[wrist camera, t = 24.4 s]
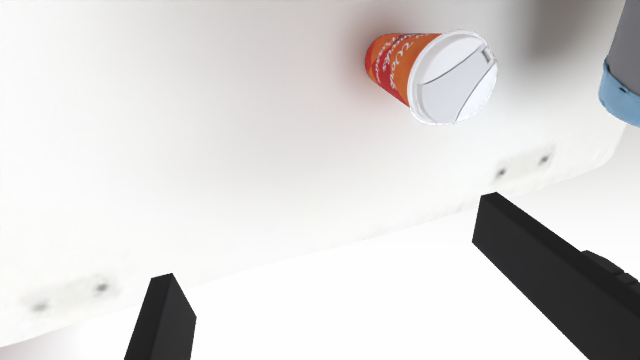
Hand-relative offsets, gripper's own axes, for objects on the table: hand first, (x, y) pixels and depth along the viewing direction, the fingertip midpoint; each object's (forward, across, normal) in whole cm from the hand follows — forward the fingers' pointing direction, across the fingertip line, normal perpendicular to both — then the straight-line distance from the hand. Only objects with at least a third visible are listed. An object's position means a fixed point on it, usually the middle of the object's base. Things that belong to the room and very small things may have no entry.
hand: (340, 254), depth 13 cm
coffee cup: (+29, +15, +2) cm, 33 cm away
